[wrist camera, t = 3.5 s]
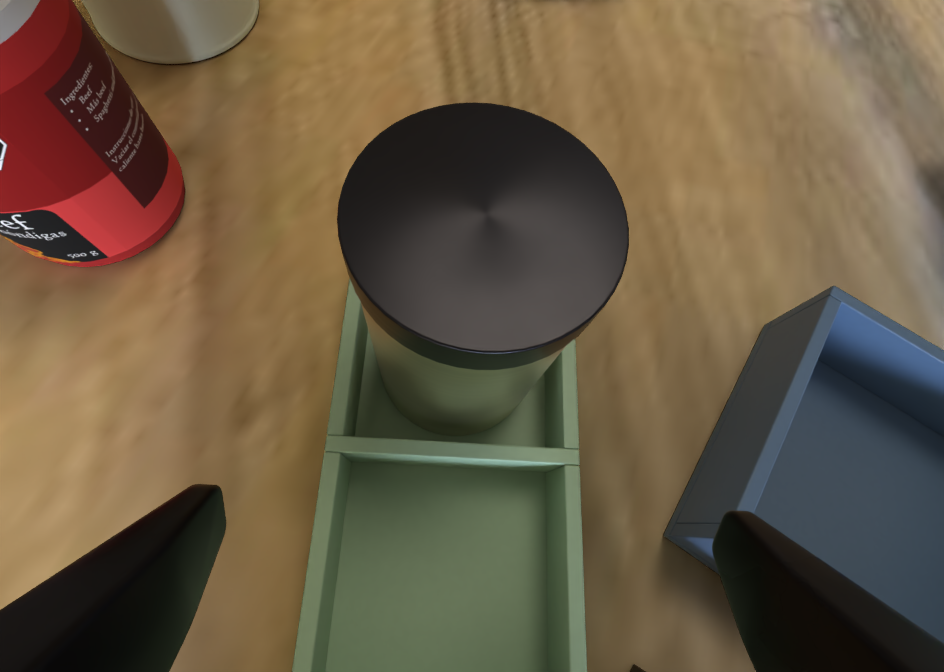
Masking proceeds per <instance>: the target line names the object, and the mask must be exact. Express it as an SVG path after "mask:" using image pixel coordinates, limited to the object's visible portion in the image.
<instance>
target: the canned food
mask: <svg viewBox="0 0 944 672" xmlns="http://www.w3.org/2000/svg"><path fill="white" fill-rule="evenodd" d="M184 195H185V188H184V181H183V176H182V171H181V167H180V165H179V162H178V160H177V158H176V156H175V155H174V153H173V152H172V150H171V149H170V147H169V146H168V144H167V143H166V141H165V140H164V138H163V137H162V135H161V134H160V132H159V131H158V129H157V128H156V126H155V125H154V123H153V122H152V120H151V119H150V117H149V116H148V114H147V113H146V111H145V110H144V108H143V107H142V105H141V104H140V102H139V101H138V99H137V98H136V96H135V95H134V93H133V92H132V90H131V89H130V87H129V86H128V84H127V83H126V81H125V80H124V78H123V77H122V75H121V74H120V72H119V71H118V69H117V68H116V66H115V65H114V63H113V62H112V60H111V59H110V57H109V56H108V54H107V53H106V51H105V50H104V48H103V47H102V45H101V44H100V42H99V41H98V39H97V38H96V36H95V35H94V33H93V32H92V30H91V29H90V27H89V26H88V24H87V23H86V21H85V20H84V18H83V17H82V15H81V14H80V12H79V11H78V9H77V8H76V6H75V5H74V3H73V2H72V0H0V235H1V236H3V237H4V238H6V239H7V240H9V241H10V242H12V243H13V244H15V245H16V246H18V247H19V248H21V249H22V250H24V251H26V252H28V253H30V254H32V255H34V256H36V257H38V258H42V259H45V260H49V261H52V262H56V263H60V264H64V265H67V266H78V267H91V266H102V265H107V264H111V263H115V262H119V261H122V260H124V259H127V258H129V257H132V256H135V255H136V254H138V253H140V252H142V251H143V250H145V249H147V248H149V247H150V246H151V245H153V244H154V243H155V242H157V241H158V240H159V239H160V238H162V237H163V236H164V235H165V233H166V232H167V231H168V230H169V229H170V228H171V227H172V226H173V224H174V222H175V221H176V219H177V218H178V216H179V214H180V211H181V209H182V206H183V203H184Z"/></svg>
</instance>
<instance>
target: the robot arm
mask: <svg viewBox="0 0 944 672" xmlns="http://www.w3.org/2000/svg"><path fill="white" fill-rule="evenodd" d="M225 530H226V516H225V509H224V502H223V495H222V491H221V488H220V487H219V486H217V485H207V484H195V485H192V486H190V487H188V488H187V489H185V490H184V491H182V492H181V493H179V494H178V495H176V496H175V497H173V498H171V499H170V500H168V501H167V502H165V503H164V504H162V505H161V506H159V507H158V508H156V509H155V510H153V511H151V512H150V513H148V514H147V515H145V516H144V517H142V518H141V519H139V520H138V521H136V522H135V523H133V524H132V525H130V526H128V527H127V528H125V529H124V530H122V531H121V532H119V533H118V534H116V535H115V536H113V537H112V538H110V539H108V540H107V541H105V542H104V543H102V544H101V545H99V546H98V547H96V548H95V549H93V550H92V551H90V552H89V553H87V554H85V555H84V556H82V557H81V558H79V559H78V560H76V561H75V562H73V563H72V564H70V565H69V566H67V567H66V568H64V569H62V570H61V571H59V572H58V573H56V574H55V575H53V576H52V577H50V578H49V579H47V580H46V581H44V582H42V583H41V584H39V585H38V586H36V587H35V588H33V589H32V590H30V591H29V592H27V593H26V594H24V595H23V596H21V597H19V598H18V599H16V600H15V601H13V602H12V603H10V604H9V605H7V606H6V607H4V608H3V609H1V610H0V672H169V671H170V669H171V667H172V665H173V662H174V660H175V658H176V656H177V654H178V652H179V650H180V648H181V646H182V644H183V642H184V640H185V637H186V635H187V633H188V631H189V629H190V626H191V624H192V621H193V619H194V616H195V614H196V611H197V609H198V606H199V603H200V600H201V598H202V595H203V592H204V589H205V587H206V584H207V581H208V578H209V576H210V573H211V570H212V567H213V565H214V562H215V559H216V556H217V554H218V551H219V548H220V545H221V543H222V540H223V537H224V534H225ZM712 553H713V557H714V560H715V563H716V566H717V569H718V572H719V575H720V578H721V581H722V584H723V586H724V589H725V592H726V595H727V598H728V601H729V604H730V607H731V610H732V612H733V615H734V618H735V621H736V624H737V627H738V630H739V632H740V635H741V637H742V640H743V643H744V645H745V647H746V650H747V652H748V654H749V657H750V659H751V661H752V663H753V666H754V668H755V670H756V672H944V643H943V642H941V641H940V640H938V639H937V638H935V637H934V636H932V635H931V634H929V633H928V632H927V631H925V630H924V629H922V628H921V627H919V626H918V625H916V624H915V623H913V622H912V621H910V620H909V619H907V618H906V617H905V616H903V615H902V614H900V613H899V612H897V611H896V610H894V609H893V608H891V607H890V606H888V605H887V604H886V603H884V602H883V601H881V600H880V599H878V598H877V597H875V596H874V595H872V594H871V593H869V592H868V591H866V590H865V589H864V588H862V587H861V586H859V585H858V584H856V583H855V582H853V581H852V580H850V579H849V578H847V577H846V576H844V575H843V574H842V573H840V572H839V571H837V570H836V569H834V568H833V567H831V566H830V565H828V564H827V563H825V562H824V561H823V560H821V559H820V558H818V557H817V556H815V555H814V554H812V553H811V552H809V551H808V550H806V549H805V548H803V547H802V546H801V545H799V544H798V543H796V542H795V541H793V540H792V539H790V538H789V537H787V536H786V535H784V534H783V533H781V532H780V531H779V530H777V529H776V528H774V527H773V526H771V525H770V524H768V523H767V522H765V521H764V520H762V519H761V518H760V517H758V516H757V515H755V514H754V513H752V512H749V511H736V510H730V511H727V512H726V513H725V514H724V515H723V518H722V520H721V522H720V525H719V527H718V530H717V532H716V535H715V537H714V540H713V543H712Z"/></svg>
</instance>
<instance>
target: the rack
mask: <svg viewBox="0 0 944 672" xmlns="http://www.w3.org/2000/svg"><path fill="white" fill-rule="evenodd" d="M578 449H579V427H578V399H577V371H576V343H575V339H574V340H573V341H571V342H570V343H569V344H568V345H566V347H565V348H564V349H563V350H562V352H561V353H560V354H559V355H558V356H557V358H556V359H555V360H554V361H553V362H552V364H551V365H550V366H549V367H548V369H547V370H546V371H545V372H544V373H543V375H542V376H541V377H540V378H539V380H538V381H537V382H536V383H535V384H534V386H533V387H532V388H531V389H530V391H529V392H528V393H527V394H526V395H525V397H524V398H523V399H522V400H521V402H520V403H519V404H518V405H517V406H516V408H515V409H514V410H513V411H512V412H511V413H510V414H509V415H508V416H507V417H506V418H505V419H504V420H502V421H501V422H500V423H498V424H497V425H495V426H493V427H492V428H489V429H487V430H485V431H482V432H479V433H475V434H471V435H464V436H449V435H441V434H438V433H434V432H431V431H428V430H426V429H423V428H421V427H419V426H418V425H416V424H414V423H413V422H411V421H410V420H409V419H407V418H406V417H405V416H404V415H403V414H402V413H401V412H400V411H399V410H398V409H397V408H396V406H395V405H394V404H393V402H392V401H391V399H390V397H389V395H388V394H387V391H386V389H385V386H384V383H383V380H382V376H381V373H380V369H379V366H378V362H377V358H376V355H375V351H374V348H373V344H372V341H371V337H370V333H369V330H368V326H367V323H366V319H365V316H364V312H363V308H362V305H361V301H360V300H359V298H358V296H357V294H356V293H355V290H354V287H353V285H352V282H351V280H350V279H349V286H348V293H347V299H346V306H345V313H344V320H343V327H342V333H341V340H340V347H339V354H338V361H337V368H336V374H335V381H334V388H333V395H332V402H331V408H330V415H329V422H328V429H327V437H326V443H325V449H324V450H325V453H324V456H323V463H322V470H321V477H320V483H319V490H318V497H317V504H316V511H315V518H314V524H313V531H312V538H311V545H310V552H309V558H308V565H307V572H306V579H305V586H304V592H303V599H302V606H301V613H300V620H299V627H298V633H297V640H296V647H295V654H294V661H293V667H292V672H587V657H586V629H585V601H584V573H583V545H582V517H581V489H580V467H579V466H578V465H579V464H580V460H579V450H578Z"/></svg>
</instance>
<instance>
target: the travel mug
mask: <svg viewBox="0 0 944 672" xmlns="http://www.w3.org/2000/svg"><path fill="white" fill-rule="evenodd" d="M337 224H338V237H339V241H340V245H341V250H342V254H343V257H344V261H345V264H346V267H347V271H348V274H349V277H350V280H351V282H352V285H353V287H354V290H355V293H356V294H357V296H358V298H359V300H360V301H361V305H362V308H363V312H364V316H365V319H366V323H367V326H368V330H369V333H370V337H371V341H372V344H373V348H374V351H375V355H376V358H377V362H378V366H379V369H380V373H381V376H382V380H383V383H384V386H385V389H386V391H387V394H388V395H389V397H390V399H391V401H392V402H393V404H394V405H395V406H396V408H397V409H398V410H399V411H400V412H401V413H402V414H403V415H404V416H405V417H406V418H407V419H409V420H410V421H411V422H413V423H414V424H416V425H418V426H419V427H421V428H423V429H426V430H428V431H431V432H434V433H438V434H441V435H449V436H464V435H471V434H475V433H479V432H482V431H485V430H487V429H489V428H492V427H493V426H495V425H497V424H498V423H500V422H501V421H502V420H504V419H505V418H506V417H507V416H508V415H509V414H510V413H511V412H512V411H513V410H514V409H515V408H516V406H517V405H518V404H519V403H520V402H521V400H522V399H523V398H524V397H525V395H526V394H527V393H528V392H529V391H530V389H531V388H532V387H533V386H534V384H535V383H536V382H537V381H538V380H539V378H540V377H541V376H542V375H543V373H544V372H545V371H546V370H547V369H548V367H549V366H550V365H551V364H552V362H553V361H554V360H555V359H556V358H557V356H558V355H559V354H560V353H561V352H562V350H563V349H564V348H565V347H566V345H568V344H569V343H570V342H571V341H573V340H574V339H575V338H576V337H578V336H579V334H580V333H581V332H582V331H583V330H584V329H585V328H586V327H587V326H588V325H589V324H590V323H591V321H592V320H593V319H594V318H595V317H596V315H597V314H598V313H599V312H600V311H601V310H602V308H603V307H604V306H605V305H606V303H607V302H608V300H609V299H610V297H611V296H612V295H613V293H614V292H615V289H616V287H617V285H618V283H619V281H620V279H621V277H622V274H623V271H624V267H625V264H626V261H627V254H628V247H629V228H628V221H627V215H626V210H625V207H624V204H623V201H622V197H621V195H620V193H619V191H618V188H617V186H616V184H615V182H614V180H613V179H612V177H611V176H610V174H609V172H608V171H607V169H606V168H605V166H604V165H603V164H602V163H601V161H600V160H599V159H598V158H597V157H596V155H595V154H594V153H593V152H592V151H591V150H590V149H589V148H588V147H587V146H586V145H585V144H583V143H582V142H581V141H580V140H578V139H577V138H576V137H575V136H573V135H572V134H571V133H569V132H568V131H566V130H564V129H563V128H561V127H560V126H558V125H557V124H555V123H553V122H551V121H549V120H546V119H544V118H542V117H540V116H538V115H535V114H532V113H530V112H527V111H524V110H520V109H516V108H513V107H509V106H503V105H497V104H489V103H456V104H449V105H443V106H438V107H434V108H430V109H426V110H423V111H420V112H418V113H415V114H412V115H410V116H408V117H406V118H404V119H402V120H400V121H398V122H396V123H394V124H393V125H391V126H390V127H388V128H387V129H386V130H384V131H383V132H381V133H380V134H379V135H378V136H377V137H376V138H374V139H373V140H372V141H371V142H370V143H369V144H368V145H367V146H366V147H365V149H364V150H363V151H362V152H361V153H360V155H359V156H358V157H357V159H356V160H355V162H354V164H353V165H352V167H351V169H350V170H349V172H348V175H347V177H346V180H345V182H344V184H343V187H342V191H341V195H340V199H339V204H338V216H337Z"/></svg>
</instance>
